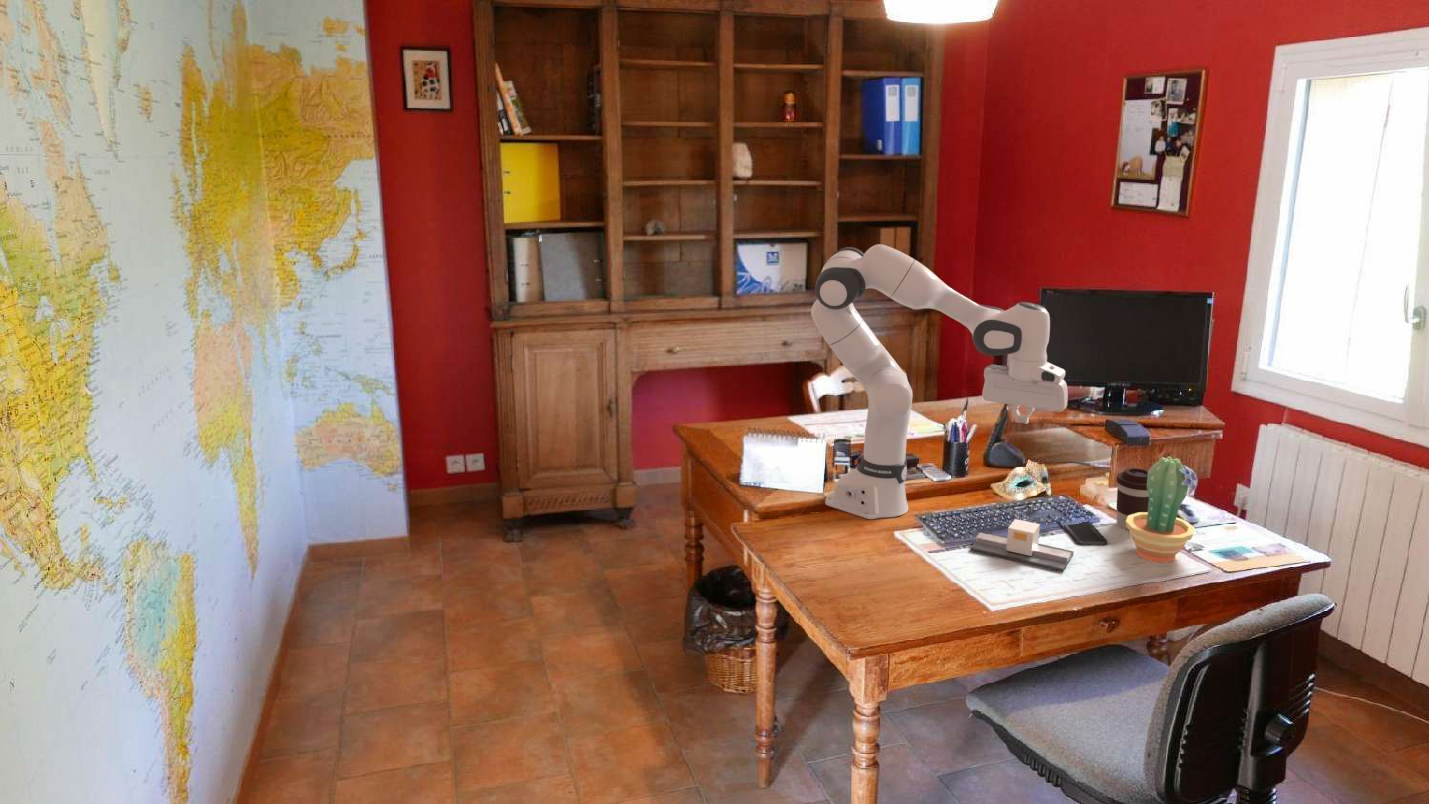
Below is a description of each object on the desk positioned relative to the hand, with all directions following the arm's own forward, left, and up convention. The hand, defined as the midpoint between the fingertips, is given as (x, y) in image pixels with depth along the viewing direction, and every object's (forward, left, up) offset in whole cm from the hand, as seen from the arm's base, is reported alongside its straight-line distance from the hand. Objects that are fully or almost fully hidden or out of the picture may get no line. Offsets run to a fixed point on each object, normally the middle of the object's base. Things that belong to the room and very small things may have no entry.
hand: (1021, 422), depth 242 cm
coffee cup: (+26, +19, -29) cm, 44 cm away
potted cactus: (+34, +4, -29) cm, 45 cm away
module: (+6, -12, -28) cm, 31 cm away
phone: (+16, +8, -30) cm, 35 cm away
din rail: (+6, -12, -29) cm, 32 cm away
